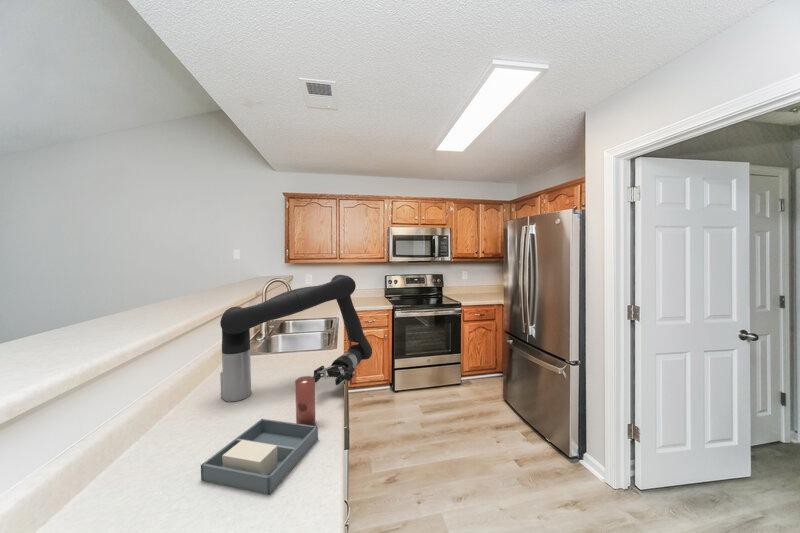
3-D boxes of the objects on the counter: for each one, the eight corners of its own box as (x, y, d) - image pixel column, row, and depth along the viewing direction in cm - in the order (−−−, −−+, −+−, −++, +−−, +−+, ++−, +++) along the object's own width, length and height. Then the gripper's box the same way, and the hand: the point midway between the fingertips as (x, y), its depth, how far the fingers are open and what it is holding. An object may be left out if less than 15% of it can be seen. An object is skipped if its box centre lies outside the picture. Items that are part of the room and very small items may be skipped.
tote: (201, 484, 68) (200, 465, 68) (262, 433, 87) (261, 418, 87) (270, 499, 63) (269, 478, 63) (318, 442, 83) (317, 426, 83)
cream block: (222, 476, 69) (222, 455, 68) (242, 459, 74) (242, 439, 74) (260, 484, 66) (259, 462, 66) (277, 465, 72) (277, 445, 72)
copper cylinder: (292, 429, 89) (291, 382, 89) (303, 419, 95) (302, 375, 94) (309, 431, 88) (308, 384, 88) (319, 421, 93) (318, 377, 93)
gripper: (328, 354, 120) (306, 368, 105) (361, 356, 117) (343, 372, 101) (328, 372, 120) (306, 390, 105) (361, 375, 117) (344, 393, 101)
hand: (325, 381), depth 103 cm, fingers open, 8 cm apart
